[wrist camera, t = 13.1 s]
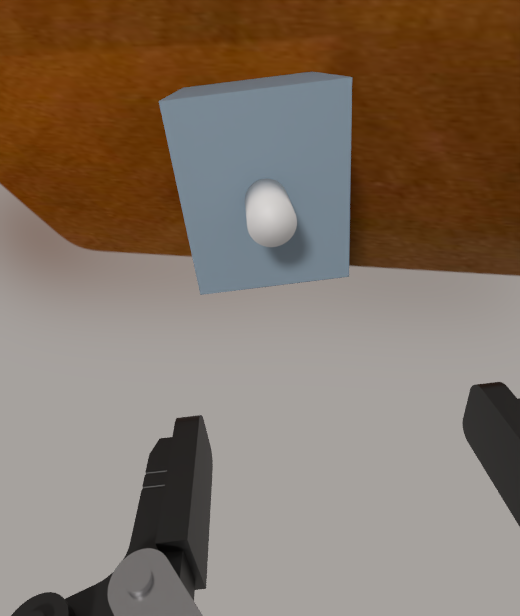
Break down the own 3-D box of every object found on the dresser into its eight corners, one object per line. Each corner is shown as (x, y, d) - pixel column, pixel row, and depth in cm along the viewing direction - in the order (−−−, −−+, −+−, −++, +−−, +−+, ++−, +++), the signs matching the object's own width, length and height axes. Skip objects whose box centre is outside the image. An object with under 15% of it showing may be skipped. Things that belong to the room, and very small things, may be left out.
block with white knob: (312, 71, 38) (376, 80, 21) (316, 217, 46) (365, 308, 29) (182, 87, 38) (144, 109, 21) (209, 230, 46) (195, 328, 29)
